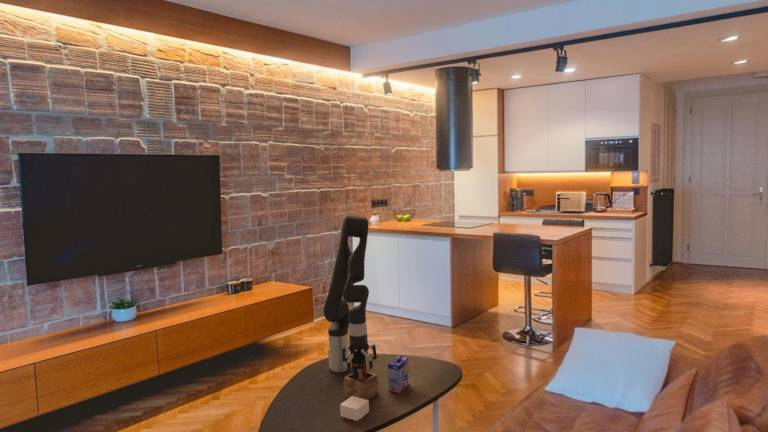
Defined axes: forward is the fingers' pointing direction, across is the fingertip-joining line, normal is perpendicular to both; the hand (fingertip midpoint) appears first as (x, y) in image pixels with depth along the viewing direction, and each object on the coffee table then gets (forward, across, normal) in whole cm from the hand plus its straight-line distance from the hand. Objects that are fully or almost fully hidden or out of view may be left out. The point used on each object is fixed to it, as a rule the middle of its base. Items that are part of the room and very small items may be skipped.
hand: (360, 369), depth 221 cm
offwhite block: (+11, -3, -15) cm, 19 cm away
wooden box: (+11, 0, 0) cm, 11 cm away
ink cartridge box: (+11, +16, +4) cm, 20 cm away
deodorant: (+6, 0, 0) cm, 6 cm away
